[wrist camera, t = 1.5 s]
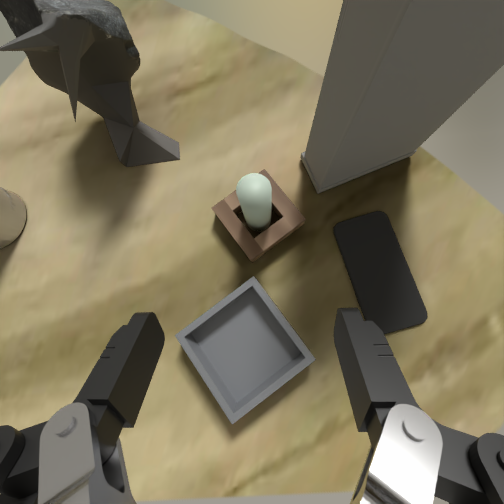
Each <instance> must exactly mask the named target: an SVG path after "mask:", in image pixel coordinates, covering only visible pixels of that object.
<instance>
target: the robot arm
mask: <svg viewBox="0 0 504 504" xmlns="http://www.w3.org/2000/svg"><path fill="white" fill-rule="evenodd" d="M25 221H26V207H25V205H24V202H23V201H22V199H21V198H20V197H19V196H18V195H17V194H15V193H13V192H11V191H8V190H5V189H3V188H1V187H0V248H3V247H5V246H7V245H9V244H10V243H12V242H13V241H14V240H15V239H16V238H17V237H18V236H19V234H20V233H21V231H22V230H23V227H24V225H25ZM164 341H165V336H164V332H163V330H162V328H161V326H160V323H159V321H158V319H157V317H156V315H155V313H153V312H141V313H135V314H134V315H133V316H132V318H131V319H130V321H129V323H128V325H123V326H122V327H121V328H120V329H119V330H118V331H117V332H116V333H115V334H114V335H113V336H112V337H111V339H110V341H109V342H108V344H107V346H106V349H105V350H104V351H103V353H102V354H101V356H100V359H99V360H98V361H97V363H96V365H95V366H94V368H93V370H92V372H91V373H90V375H89V377H88V379H87V380H86V382H85V384H84V385H83V387H82V389H81V391H80V392H79V394H78V396H77V397H76V399H75V400H74V401H73V403H72V404H69V405H67V406H65V407H63V408H61V409H60V410H59V411H57V412H56V413H55V414H54V415H53V416H52V417H51V418H50V419H49V421H46V422H43V423H40V424H38V425H35V426H32V427H29V428H26V429H23V430H20V431H18V430H16V429H15V428H13V427H11V426H9V425H4V426H0V493H1V494H0V504H136V502H135V500H134V498H133V496H132V494H131V490H130V486H129V481H128V476H127V471H126V467H125V462H124V457H123V452H122V447H121V442H120V439H119V435H120V433H121V430H122V428H133V427H134V425H135V422H136V419H137V417H138V414H139V411H140V408H141V406H142V403H143V400H144V398H145V395H146V392H147V390H148V387H149V384H150V381H151V379H152V376H153V373H154V371H155V368H156V365H157V363H158V360H159V357H160V355H161V352H162V349H163V346H164ZM334 342H335V346H336V350H337V354H338V358H339V361H340V365H341V369H342V373H343V376H344V380H345V384H346V388H347V391H348V395H349V399H350V403H351V406H352V410H353V414H354V418H355V421H356V425H357V429H358V432H368V435H369V439H370V442H371V446H370V449H369V451H368V454H367V457H366V460H365V463H364V465H363V468H362V471H361V474H360V477H359V480H358V482H357V485H356V488H355V491H354V494H353V497H352V499H351V502H350V504H433V499H434V496H435V497H438V498H440V499H443V500H445V501H447V502H449V504H504V436H503V435H500V434H496V433H487V434H484V435H482V436H481V437H479V438H478V437H475V436H472V435H469V434H466V433H463V432H460V431H457V430H454V429H451V428H448V427H446V426H443V425H441V424H439V423H437V422H436V421H434V420H433V419H431V418H430V417H429V416H428V415H427V414H426V413H425V412H423V410H422V409H421V408H420V407H419V406H418V404H417V403H416V401H415V399H414V397H413V395H412V393H411V391H410V389H409V387H408V385H407V382H406V380H405V378H404V376H403V374H402V372H401V370H400V367H399V365H398V363H397V361H396V359H395V357H394V356H393V352H392V350H391V348H390V347H389V344H388V342H387V340H386V337H385V335H384V333H383V331H382V330H381V329H380V328H379V327H378V326H377V325H376V324H375V323H374V322H373V321H363V318H362V316H361V313H360V311H359V309H358V308H338V310H337V316H336V321H335V327H334Z"/></svg>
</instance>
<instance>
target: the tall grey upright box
mask: <svg viewBox="0 0 504 504" xmlns="http://www.w3.org/2000/svg"><path fill="white" fill-rule="evenodd" d="M503 65H504V0H343V4H342V8H341V12H340V16H339V20H338V24H337V28H336V32H335V36H334V40H333V45H332V48H331V52H330V56H329V60H328V64H327V68H326V72H325V76H324V80H323V84H322V88H321V92H320V96H319V100H318V104H317V108H316V112H315V116H314V120H313V124H312V128H311V132H310V136H309V140H308V144H307V148H306V151H305V152H303V153H301V160H302V162H303V164H304V166H305V168H306V170H307V172H308V174H309V176H310V179H311V181H312V183H313V185H314V187H315V189H316V191H317V193H321V192H323V191H326V190H328V189H330V188H333V187H335V186H338V185H340V184H343V183H345V182H348V181H350V180H353V179H355V178H358V177H360V176H363V175H365V174H367V173H370V172H372V171H375V170H377V169H380V168H382V167H385V166H387V165H390V164H392V163H395V162H397V161H400V160H402V159H404V158H407V157H409V156H412V155H413V154H414V153H415V152H416V149H417V148H418V147H419V146H420V145H421V144H422V143H423V142H424V141H426V140H427V139H428V138H429V136H431V134H433V133H434V132H435V131H436V130H437V129H438V128H439V127H440V126H441V125H442V124H443V123H444V122H445V121H446V120H447V119H448V118H449V117H450V116H451V115H452V114H453V113H454V112H455V111H456V110H457V109H458V108H459V107H460V106H462V104H464V103H465V102H466V101H467V100H468V98H470V97H471V96H472V95H473V94H474V93H475V92H476V91H477V90H478V89H479V88H480V87H481V86H482V85H483V84H484V83H485V82H486V81H487V80H488V79H489V78H490V77H491V76H492V75H493V74H494V73H495V72H496V71H497V70H498V69H499V68H501V67H502V66H503Z"/></svg>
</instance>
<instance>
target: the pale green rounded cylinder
mask: <svg viewBox="0 0 504 504" xmlns="http://www.w3.org/2000/svg"><path fill="white" fill-rule="evenodd" d="M236 194H237V197H238V200H239V203H240V205H241V208H242V211H243V214H244V217H245V220H246V222H247V225H248V227H249V228H250V229H252V230H254V231H263V230H265V229H267V228H268V227H269V225H270V223H271V206H272V187H271V184H270V181H269V180H268V179H267V178H266V177H265V176H263V175H261V174H258V173H251V174H247V175H245V176H244V177H242V178H241V179H240V181H239V182H238V184H237V187H236Z"/></svg>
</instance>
